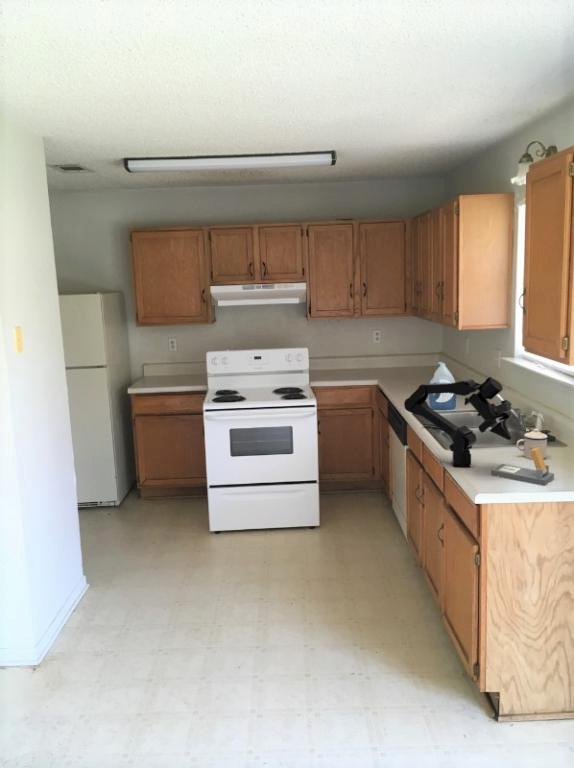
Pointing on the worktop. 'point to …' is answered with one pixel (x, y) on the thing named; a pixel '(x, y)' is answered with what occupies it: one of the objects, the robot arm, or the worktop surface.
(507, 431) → the robot arm
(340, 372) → the worktop surface
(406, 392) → the worktop surface
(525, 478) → the switch panel
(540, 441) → the teacup with lid
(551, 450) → the worktop surface
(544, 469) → the orange lever
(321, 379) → the worktop surface
